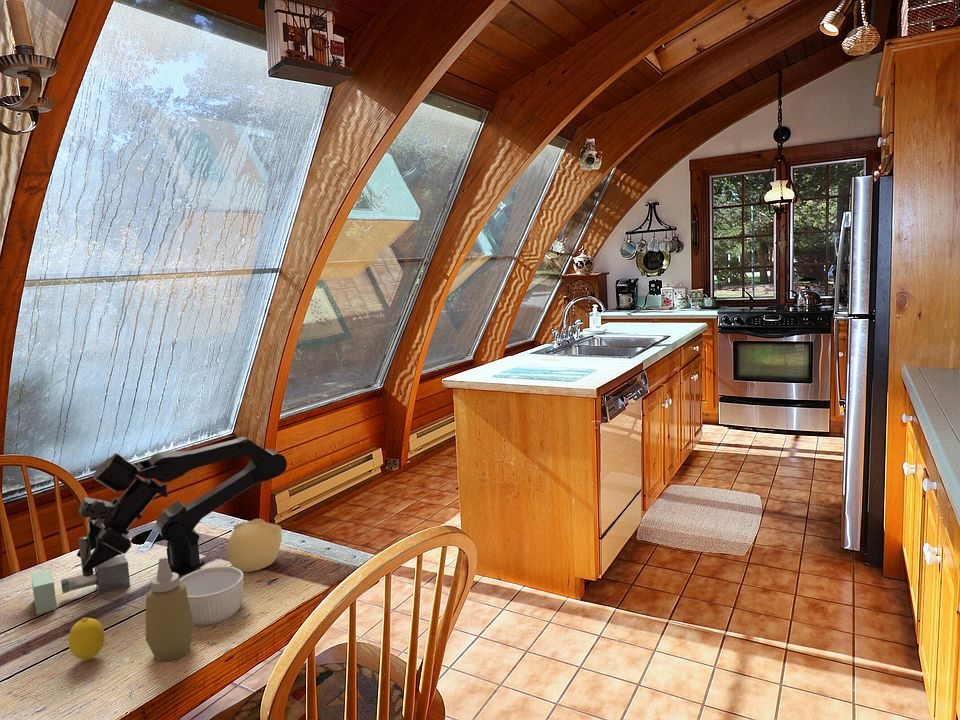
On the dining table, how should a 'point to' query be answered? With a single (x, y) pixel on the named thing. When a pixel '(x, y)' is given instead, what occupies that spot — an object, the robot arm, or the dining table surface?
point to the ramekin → (213, 593)
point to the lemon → (86, 638)
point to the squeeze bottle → (168, 615)
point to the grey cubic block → (112, 574)
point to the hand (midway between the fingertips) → (81, 563)
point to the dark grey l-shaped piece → (87, 577)
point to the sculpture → (254, 545)
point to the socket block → (43, 591)
